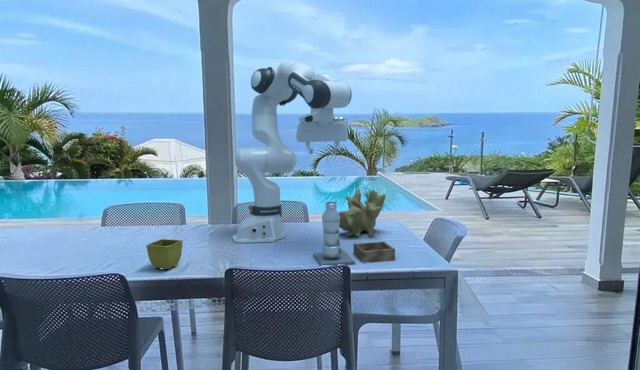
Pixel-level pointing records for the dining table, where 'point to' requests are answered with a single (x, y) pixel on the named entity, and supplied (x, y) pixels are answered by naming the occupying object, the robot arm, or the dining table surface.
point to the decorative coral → (361, 213)
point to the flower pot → (164, 253)
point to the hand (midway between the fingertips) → (322, 153)
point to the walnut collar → (374, 252)
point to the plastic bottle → (331, 231)
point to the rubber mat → (334, 259)
